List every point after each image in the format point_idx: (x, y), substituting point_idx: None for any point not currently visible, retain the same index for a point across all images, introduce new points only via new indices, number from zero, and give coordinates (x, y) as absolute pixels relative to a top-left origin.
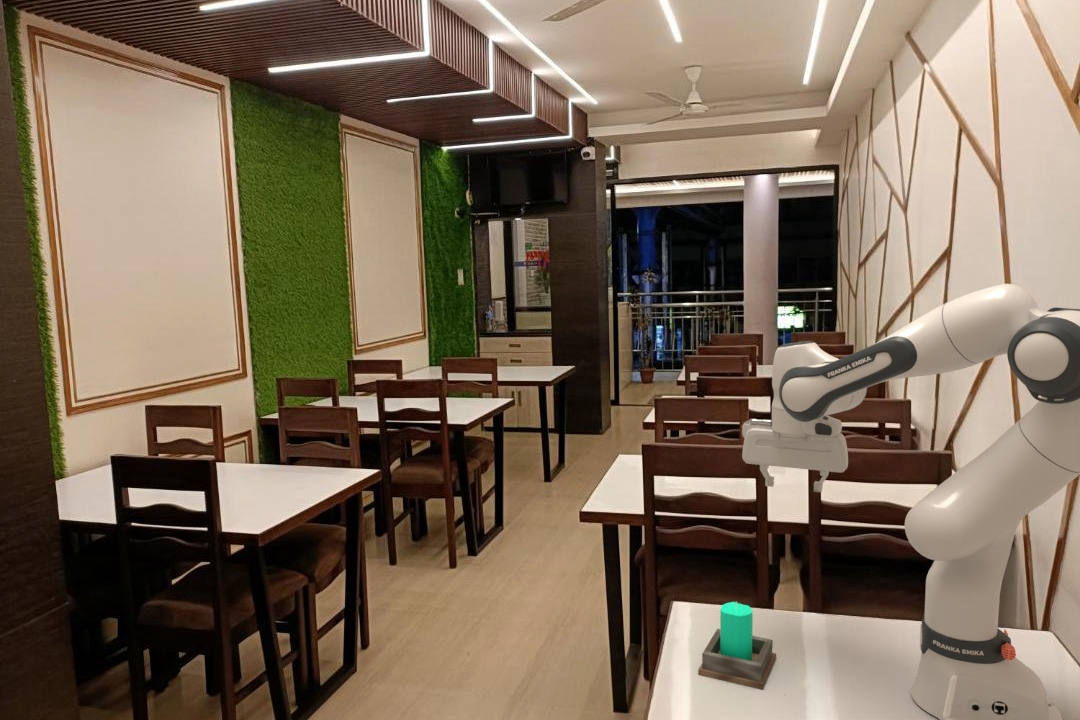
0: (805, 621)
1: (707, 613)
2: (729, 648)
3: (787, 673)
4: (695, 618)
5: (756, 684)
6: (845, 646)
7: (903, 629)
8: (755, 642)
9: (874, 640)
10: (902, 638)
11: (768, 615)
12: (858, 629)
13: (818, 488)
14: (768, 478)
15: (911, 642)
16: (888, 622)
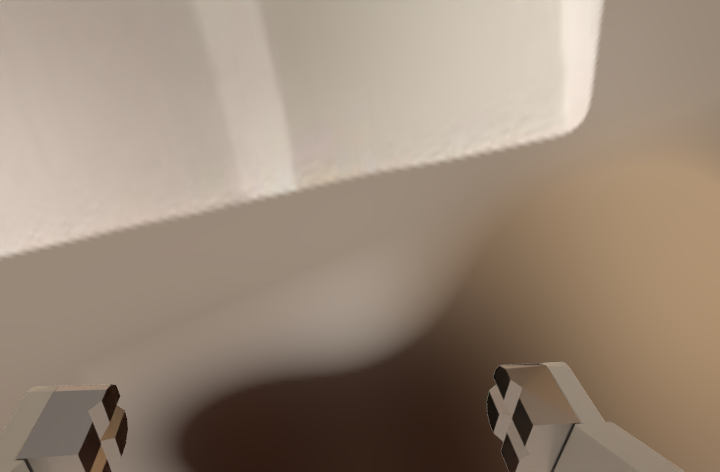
0: (281, 148)
1: (519, 96)
2: None
3: None
4: (549, 55)
5: None
6: (157, 48)
7: (57, 196)
8: None
9: (100, 112)
10: (43, 150)
11: (371, 144)
12: (153, 156)
13: (44, 409)
14: (573, 424)
15: (16, 137)
16: (100, 217)
